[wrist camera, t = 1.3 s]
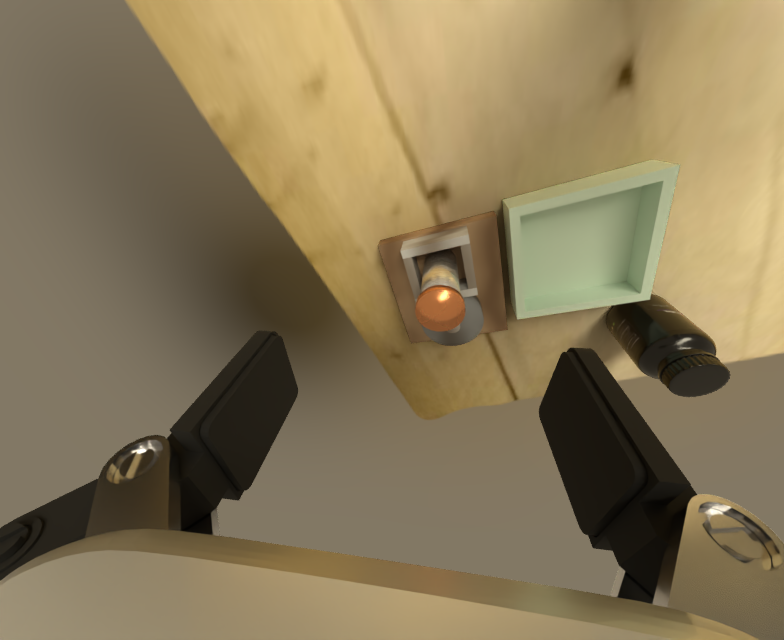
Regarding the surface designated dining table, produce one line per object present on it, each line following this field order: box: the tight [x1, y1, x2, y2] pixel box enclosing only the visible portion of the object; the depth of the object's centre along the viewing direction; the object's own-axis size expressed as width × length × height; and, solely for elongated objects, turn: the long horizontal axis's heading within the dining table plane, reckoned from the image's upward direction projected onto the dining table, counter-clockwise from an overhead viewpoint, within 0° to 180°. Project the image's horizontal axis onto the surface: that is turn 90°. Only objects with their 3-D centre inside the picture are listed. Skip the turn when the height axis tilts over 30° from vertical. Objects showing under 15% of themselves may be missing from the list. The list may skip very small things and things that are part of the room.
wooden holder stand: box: [378, 211, 508, 346], centre depth 36 cm, size 14×16×6 cm
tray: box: [502, 159, 680, 320], centre depth 32 cm, size 14×14×4 cm
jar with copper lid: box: [415, 249, 466, 331], centre depth 30 cm, size 5×5×11 cm
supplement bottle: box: [606, 294, 730, 397], centre depth 32 cm, size 7×7×12 cm
